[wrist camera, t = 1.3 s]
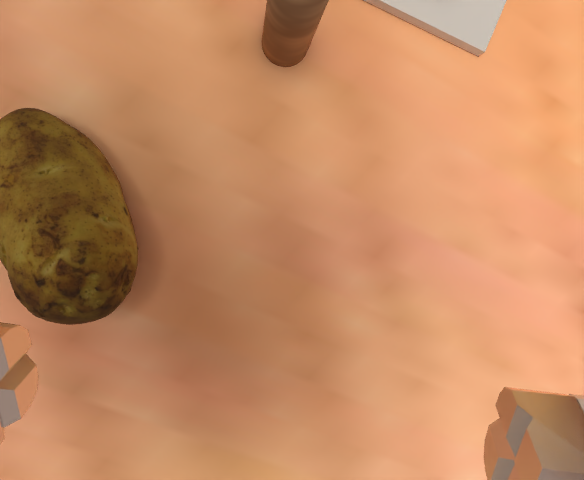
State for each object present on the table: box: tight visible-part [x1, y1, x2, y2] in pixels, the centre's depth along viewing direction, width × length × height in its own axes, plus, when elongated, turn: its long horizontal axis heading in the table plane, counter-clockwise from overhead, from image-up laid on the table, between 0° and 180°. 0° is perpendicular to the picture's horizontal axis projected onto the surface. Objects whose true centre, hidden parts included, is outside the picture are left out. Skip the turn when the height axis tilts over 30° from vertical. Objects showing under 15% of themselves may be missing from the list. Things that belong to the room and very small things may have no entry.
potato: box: [0, 108, 138, 325], centre depth 29 cm, size 8×13×8 cm, turn 4°
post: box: [262, 0, 328, 67], centre depth 29 cm, size 3×3×11 cm
